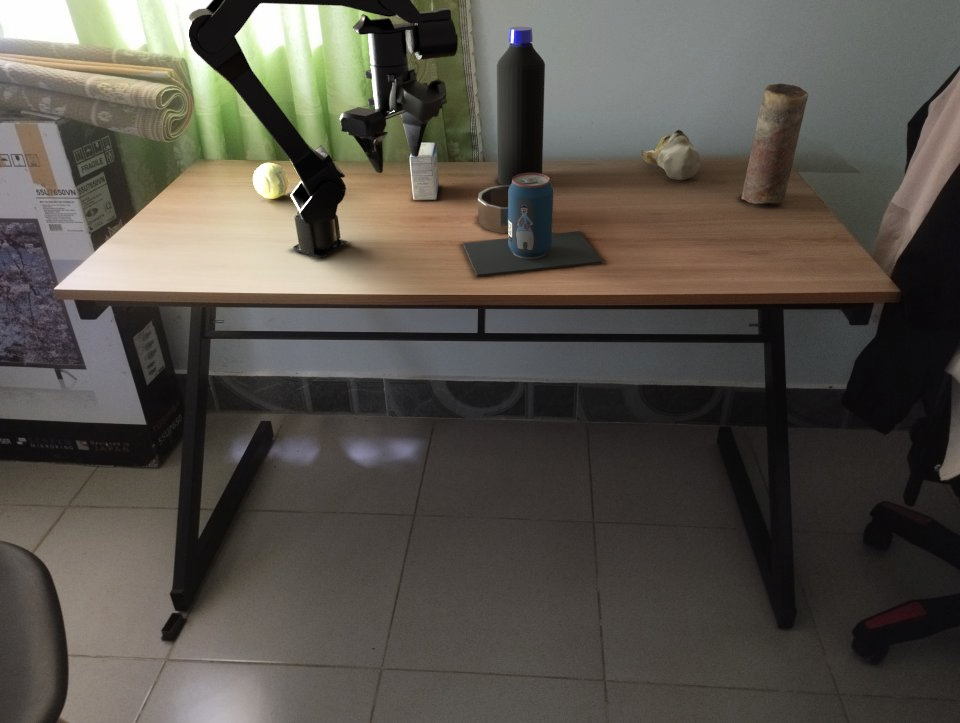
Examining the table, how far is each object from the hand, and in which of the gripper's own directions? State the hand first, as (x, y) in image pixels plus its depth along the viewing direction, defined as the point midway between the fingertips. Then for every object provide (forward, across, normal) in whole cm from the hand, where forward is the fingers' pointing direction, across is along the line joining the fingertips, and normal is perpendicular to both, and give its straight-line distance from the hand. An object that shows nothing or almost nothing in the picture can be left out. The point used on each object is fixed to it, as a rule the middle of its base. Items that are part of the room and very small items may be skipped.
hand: (397, 164), depth 121 cm
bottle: (+12, +32, -4) cm, 34 cm away
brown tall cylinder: (+12, +45, -48) cm, 67 cm away
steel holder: (+12, +14, -13) cm, 22 cm away
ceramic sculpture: (+12, +52, -28) cm, 60 cm away
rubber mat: (+12, +4, -23) cm, 26 cm away
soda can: (+12, +4, -23) cm, 26 cm away
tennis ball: (+12, 0, +32) cm, 34 cm away
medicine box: (+12, +17, +8) cm, 22 cm away
